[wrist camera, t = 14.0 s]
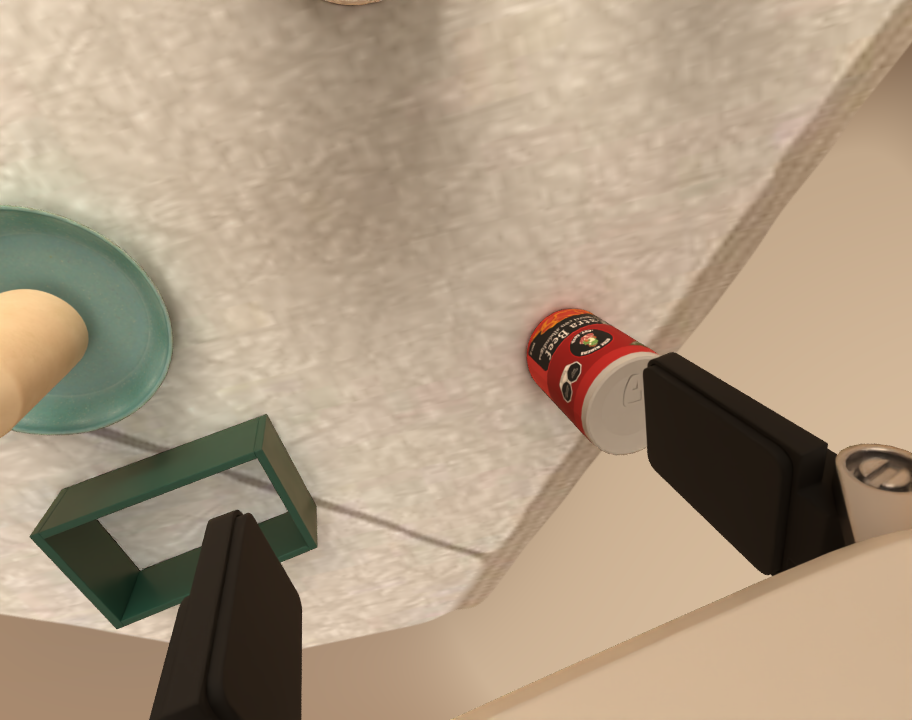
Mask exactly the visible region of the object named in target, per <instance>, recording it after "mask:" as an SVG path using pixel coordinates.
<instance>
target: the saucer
mask: <svg viewBox="0 0 912 720" xmlns="http://www.w3.org/2000/svg"><path fill="white" fill-rule="evenodd" d="M18 289H31V290H38V291H43V292H46V293H49V294H52V295H54V296H56V297H58V298H60V299H62V300H64V301H65V302H67V303H68V304H69V305H71V306H72V307H73V308H74V309H75V310H76V311H77V312H78V313H79V315H80V316H81V317H82V319H83V321H84V322H85V325H86V327H87V331H88V338H89V340H88V346H87V349H86V352H85V354H84V356H83V357H82V359H81V360H80V361H79V362H78V363H77V364H76V365H75V366H74V367H73V369H72V370H71V371H70V372H69V373H68V374H67V375H66V376H65V377H64V378H63V379H62V380H61V381H60V382H59V383H58V384H57V385H55V386H54V387H53V388H52V389H51V390H50V391H49V392H48V393H47V394H46V395H45V396H44V397H43V398H42V399H41V400H40V401H39V402H38V403H37V404H36V405H35V406H34V407H33V408H32V409H31V410H30V411H29V412H28V413H27V414H26V415H25V416H24V417H23V418H22V419H21V420H20V421H19V422H18V423H17V424H16V425H15V426H14V427H13V428H12V429H11V430H12V431H16V432H22V433H29V434H39V435H70V434H79V433H85V432H90V431H94V430H98V429H101V428H104V427H107V426H110V425H112V424H114V423H117V422H119V421H121V420H123V419H124V418H126V417H128V416H130V415H131V414H133V413H134V412H136V411H137V410H138V409H140V408H141V407H142V406H143V405H144V404H145V403H146V402H147V401H148V400H150V399H151V397H152V396H153V395H154V394H155V392H156V391H157V389H158V388H159V387H160V385H161V384H162V382H163V380H164V378H165V376H166V374H167V372H168V369H169V366H170V362H171V358H172V352H173V334H172V326H171V321H170V317H169V314H168V311H167V308H166V305H165V303H164V301H163V298H162V296H161V295H160V293H159V291H158V289H157V287H156V286H155V284H154V283H153V281H152V280H151V279H150V277H149V276H148V275H147V274H146V272H145V271H144V270H143V269H142V268H141V267H140V266H139V264H138V263H137V262H136V261H135V260H134V259H133V258H132V257H130V256H129V255H128V254H127V253H126V252H125V251H123V250H122V249H121V248H120V247H118V246H117V245H116V244H115V243H113V242H112V241H110V240H109V239H107V238H106V237H104V236H103V235H101V234H99V233H98V232H96V231H94V230H92V229H91V228H89V227H86V226H84V225H82V224H80V223H78V222H76V221H73V220H71V219H68V218H65V217H63V216H60V215H56V214H53V213H50V212H47V211H42V210H38V209H32V208H26V207H21V206H10V205H0V293H3V292H6V291H11V290H18Z"/></svg>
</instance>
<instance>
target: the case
mask: <svg viewBox="0 0 912 720" xmlns="http://www.w3.org/2000/svg"><path fill="white" fill-rule="evenodd" d="M256 458H258V460H259V462H260V463H261V465H262V467H263V469H264V470H265V472H266V474H267V476H268V477H269V479H270V481H271V482H272V484H273V486H274V488H275V489H276V491H277V493H278V495H279V496H280V498H281V500H282V501H283V503H284V505H285V507H286V508H287V510H288V512H287V513H285V514H282V515H280V516H277V517H275V518H272V519H270V520H267V521H265V522H262V523H260V524H258V525H259V527H260V529H261V531H262V532H263V534H264V536H265V538H266V539H267V541H268V543H269V544H270V546H271V548H272V550H273V551H274V553H275V555H276V556H277V558H278V560H279V562H280V563H281V562H283V561H285V560H288V559H290V558H293V557H295V556H298V555H300V554H303V553H305V552H307V551H310V550H312V549H315V548H317V513H316V505H315V503H314V501H313V499H312V497H311V496H310V494H309V492H308V490H307V488H306V486H305V484H304V483H303V481H302V479H301V477H300V475H299V473H298V471H297V470H296V468H295V466H294V464H293V462H292V460H291V458H290V457H289V455H288V453H287V451H286V449H285V447H284V445H283V444H282V442H281V440H280V438H279V436H278V434H277V432H276V431H275V429H274V427H273V425H272V423H271V421H270V419H269V418H268V416H267V414H266V415H263V416H260V418H259V417H258V418H255V419H252V420H249V421H247V422H244V423H241V424H239V425H236V426H233V427H230V428H228V429H225V430H222V431H220V432H217V433H214V434H212V435H209V436H206V437H203V438H201V439H198V440H195V441H193V442H190V443H187V444H184V445H182V446H179V447H176V448H174V449H171V450H168V451H165V452H163V453H160V454H157V455H155V456H152V457H149V458H146V459H144V460H141V461H138V462H136V463H133V464H130V465H128V466H125V467H122V468H119V469H117V470H114V471H111V472H109V473H106V474H103V475H100V476H98V477H95V478H92V479H90V480H87V481H84V482H81V483H79V484H76V485H73V486H71V487H68V488H65V489H63V490H61V492H60V493H59V495H58V496H57V497H56V499H55V500H54V502H53V503H52V505H51V506H50V508H49V509H48V510H47V512H46V513H45V515H44V516H43V518H42V519H41V521H40V522H39V523H38V525H37V526H36V528H35V529H34V531H33V532H32V534H31V535H30V538H31V539H32V540H33V541H34V542H35V543H36V544H37V545H38V546H39V547H40V549H41V550H42V551H43V552H44V553H45V554H46V555H47V556H48V557H49V558H50V559H51V560H52V561H53V562H54V563H55V564H56V565H57V567H58V568H59V569H60V570H61V571H62V572H63V573H64V574H65V575H66V576H67V577H68V578H69V579H70V580H71V581H72V582H73V583H74V584H75V586H76V587H77V588H78V589H79V590H80V591H81V592H82V593H83V594H84V595H85V596H86V597H87V598H88V599H89V600H90V601H91V602H92V604H93V605H94V606H95V607H96V608H97V609H98V610H99V611H100V612H101V613H102V614H103V615H104V616H105V617H106V618H107V619H108V620H109V621H110V623H111V624H112V625H113V626H114V627H115V628H116V629H119V628H122V627H124V626H127V625H129V624H131V623H134V622H136V621H139V620H141V619H144V618H146V617H149V616H151V615H153V614H156V613H158V612H161V611H163V610H166V609H168V608H171V607H173V606H175V605H178V604H180V603H181V602H182V600H183V599H184V598H185V597H187V596H189V595H190V591H191V587H192V583H193V579H194V575H195V571H196V567H197V563H198V559H199V555H200V551H201V547H199V548H197V549H194V550H192V551H189V552H186V553H184V554H181V555H179V556H176V557H174V558H171V559H169V560H166V561H164V562H161V563H159V564H156V565H154V566H151V567H149V568H146V569H144V570H141V571H139V570H138V568H137V567H136V566H135V565H134V564H133V562H132V561H131V560H130V559H129V558H128V556H127V555H126V554H125V553H124V552H123V550H122V549H121V548H120V547H119V546H118V544H117V543H116V542H115V541H114V540H113V538H112V537H111V536H110V535H109V534H108V533H107V531H106V530H105V529H104V528H103V527H102V525H101V524H100V523H99V522H98V521H97V519H98V518H101V517H103V516H106V515H108V514H111V513H114V512H116V511H119V510H122V509H124V508H127V507H130V506H132V505H135V504H137V503H140V502H143V501H145V500H148V499H151V498H153V497H156V496H159V495H161V494H164V493H166V492H169V491H172V490H174V489H177V488H180V487H182V486H185V485H187V484H190V483H193V482H195V481H198V480H201V479H203V478H206V477H209V476H211V475H214V474H216V473H219V472H222V471H224V470H227V469H230V468H232V467H235V466H238V465H240V464H243V463H245V462H248V461H251V460H253V459H256Z"/></svg>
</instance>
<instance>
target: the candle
mask: <svg viewBox="0 0 912 720" xmlns="http://www.w3.org/2000/svg"><path fill="white" fill-rule="evenodd" d="M88 340H89V338H88V331H87V327H86V325H85V322H84V321H83V319H82V317H81V316H80V315H79V313H78V312H77V311H76V310H75V309H74V308H73V307H72V306H71V305H69V304H68V303H67V302H65V301H64V300H62V299H60V298H58V297H56V296H54V295H52V294H49V293H46V292H43V291H38V290H31V289H18V290H11V291H6V292H3V293H0V438H1V437H3V436H4V435H5V434H7V433H8V432H9V431H10V430H11V429H12V428H13V427H14V426H15V425H16V424H17V423H18V422H19V421H20V420H21V419H22V418H23V417H24V416H25V415H26V414H27V413H28V412H29V411H30V410H31V409H32V408H33V407H34V406H35V405H36V404H37V403H38V402H39V401H40V400H41V399H42V398H43V397H44V396H45V395H46V394H47V393H48V392H49V391H50V390H51V389H52V388H53V387H54V386H55V385H57V384H58V383H59V382H60V381H61V380H62V379H63V378H64V377H65V376H66V375H67V374H68V373H69V372H70V371H71V370H72V369H73V367H74V366H75V365H76V364H77V363H78V362H79V361H80V360H81V359H82V357H83V356H84V354H85V352H86V349H87V346H88Z"/></svg>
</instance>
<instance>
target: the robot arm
mask: <svg viewBox="0 0 912 720" xmlns="http://www.w3.org/2000/svg"><path fill="white" fill-rule="evenodd" d="M324 1H328V2H332V3H336V4H340V5H364V4H369V3H373V2H378V1H381V0H324ZM643 388H644V404H645V421H646V437H647V453H648V459H649V462H650V464H651V466H652V467H653V468H654V470H655V471H656V472H657V473H658V474H659V475H660V476H661V477H662V478H663V479H665V480H666V482H668V483H669V484H670V485H671V486H672V487H673V488H674V489H675V490H676V491H677V492H678V493H679V494H680V495H681V496H682V497H683V498H684V499H685V500H686V501H687V502H688V503H689V504H690V505H691V506H692V507H693V508H694V509H695V510H696V511H697V512H699V513H700V514H701V515H702V516H703V517H704V518H705V519H706V520H707V521H708V522H709V523H710V524H711V525H712V526H713V527H714V528H715V529H716V530H717V531H718V532H719V533H720V534H721V535H722V536H723V537H724V538H725V539H726V540H728V542H730V543H731V544H732V545H733V546H734V547H735V548H736V549H737V550H738V551H739V552H740V553H741V554H742V555H743V556H744V557H745V558H746V559H747V560H748V561H749V562H750V563H751V564H752V565H753V566H754V567H755V568H756V569H758V570H759V571H760V572H761V573H763V574H765V575H770V574H771V575H772V577H770V578H767V579H765V580H763V581H760V582H758V583H756V584H753V585H751V586H749V587H746V588H744V589H742V590H740V591H737V592H735V593H733V594H731V595H728V596H726V597H724V598H722V599H719V600H717V601H715V602H712V603H711V604H708V605H706V606H703V607H701V608H699V609H696V610H694V611H692V612H690V613H687V614H685V615H683V616H681V617H678V618H676V619H674V620H671V621H669V622H667V623H665V624H662V625H660V626H658V627H656V628H653V629H651V630H649V631H647V632H644V633H642V634H640V635H638V636H635V637H633V638H631V639H629V640H627V641H624V642H622V643H620V644H617V645H615V646H613V647H611V648H608V649H606V650H604V651H602V652H599V653H597V654H595V655H593V656H591V657H588V658H586V659H584V660H582V661H579V662H577V663H575V664H573V665H571V666H569V667H566V668H564V669H561V670H559V671H557V672H555V673H553V674H550V675H548V676H546V677H544V678H542V679H539V680H537V681H535V682H532V683H530V684H528V685H526V686H524V687H522V688H519V689H517V690H515V691H512V692H510V693H508V694H506V695H504V696H501V697H500V698H497V699H495V700H493V701H490V702H488V703H486V704H484V705H482V706H479V707H477V708H475V709H473V710H471V711H468V712H466V713H464V714H462V715H460V716H457V717H455V718H453V719H451V720H912V453H911V452H909V451H906V450H903V449H899V448H896V447H893V446H887V445H880V444H859V445H854V446H849V447H847V448H845V449H843V450H841V451H840V452H839V454H838V455H837V454H836V453H834V452H832V451H831V450H829V449H827V447H828V444H827V443H826V442H824V441H823V440H821V439H819V438H818V437H816V436H814V435H813V434H811V433H809V432H808V431H806V430H804V429H803V428H801V427H799V426H797V425H796V424H794V423H793V422H791V421H789V420H787V419H786V418H784V417H782V416H781V415H779V414H777V413H776V412H774V411H772V410H771V409H769V408H767V407H766V406H764V405H762V404H761V403H759V402H757V401H756V400H754V399H752V398H751V397H749V396H747V395H746V394H744V393H742V392H741V391H739V390H737V389H736V388H734V387H732V386H731V385H729V384H727V383H726V382H724V381H722V380H721V379H719V378H717V377H715V376H714V375H712V374H710V373H709V372H707V371H705V370H704V369H702V368H700V367H699V366H697V365H695V364H694V363H692V362H690V361H689V360H687V359H685V358H684V357H682V356H680V355H678V354H677V353H674V352H671V353H668V354H665V355H662V356H660V357H657V358H654V359H651V360H650V361H649V362H648V364H647V368H645V369H644V370H643ZM301 675H302V606H301V601H300V597H299V595H298V593H297V591H296V589H295V587H294V586H293V584H292V582H291V580H290V579H289V577H288V575H287V574H286V572H285V570H284V568H283V567H282V565H281V563H280V562H279V560H278V558H277V556H276V555H275V553H274V551H273V550H272V548H271V546H270V544H269V543H268V541H267V539H266V538H265V536H264V534H263V532H262V531H261V529H260V527H259V525H258V524H257V522H256V520H255V519H254V517H253V516H252V514H250V513H247V514H244V515H243V514H242V512H240V511H239V510H235V511H232V512H229V513H227V514H224V515H221V516H218V517H216V518H213V519H211V520H209V521H208V524H207V527H206V531H205V535H204V539H203V543H202V547H201V551H200V555H199V559H198V563H197V567H196V571H195V575H194V579H193V583H192V587H191V591H190V595H189V596H187V597H185V598H184V599H183V600H182V602H181V604H180V607H179V609H178V613H177V617H176V621H175V625H174V628H173V632H172V636H171V640H170V643H169V647H168V651H167V655H166V658H165V662H164V666H163V670H162V674H161V677H160V681H159V685H158V689H157V693H156V696H155V700H154V704H153V708H152V711H151V715H150V719H149V720H301V684H302V683H301V682H302V676H301Z"/></svg>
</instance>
